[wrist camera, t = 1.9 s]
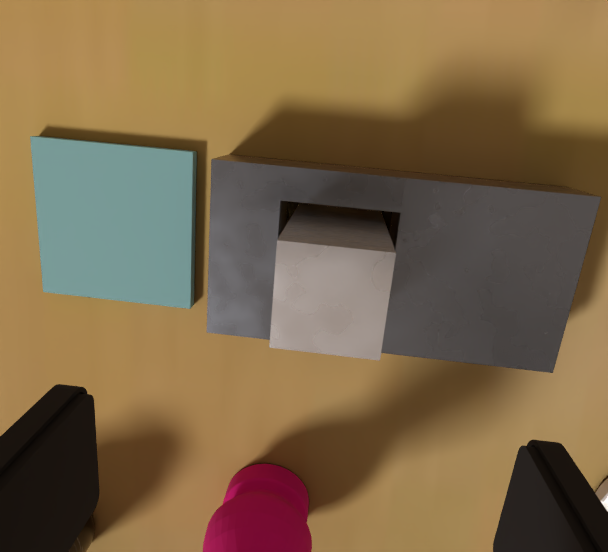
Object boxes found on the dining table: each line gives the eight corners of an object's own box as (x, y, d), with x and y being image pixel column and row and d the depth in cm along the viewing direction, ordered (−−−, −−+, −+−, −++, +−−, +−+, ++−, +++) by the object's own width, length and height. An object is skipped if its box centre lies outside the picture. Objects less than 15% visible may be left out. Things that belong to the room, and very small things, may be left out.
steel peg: (380, 211, 30) (396, 252, 20) (370, 287, 31) (380, 360, 22) (299, 202, 30) (276, 240, 20) (293, 279, 32) (269, 347, 22)
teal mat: (196, 151, 30) (192, 152, 29) (193, 304, 33) (190, 308, 32) (38, 136, 30) (30, 136, 29) (50, 287, 33) (43, 291, 32)
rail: (567, 187, 28) (601, 197, 25) (527, 342, 31) (552, 372, 28) (229, 154, 29) (211, 159, 26) (223, 307, 33) (206, 332, 29)
